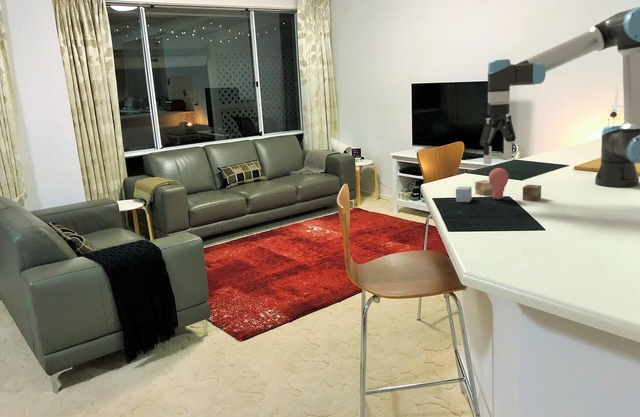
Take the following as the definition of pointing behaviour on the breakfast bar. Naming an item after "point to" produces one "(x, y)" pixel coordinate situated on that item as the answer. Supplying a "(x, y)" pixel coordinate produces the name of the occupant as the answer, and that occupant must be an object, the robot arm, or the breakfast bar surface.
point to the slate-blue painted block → (463, 194)
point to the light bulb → (498, 181)
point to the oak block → (483, 187)
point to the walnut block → (532, 192)
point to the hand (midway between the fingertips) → (497, 161)
